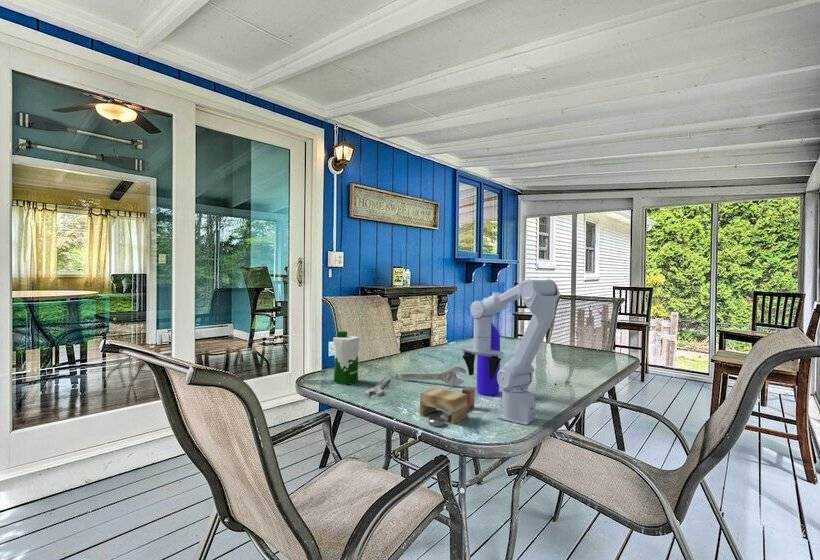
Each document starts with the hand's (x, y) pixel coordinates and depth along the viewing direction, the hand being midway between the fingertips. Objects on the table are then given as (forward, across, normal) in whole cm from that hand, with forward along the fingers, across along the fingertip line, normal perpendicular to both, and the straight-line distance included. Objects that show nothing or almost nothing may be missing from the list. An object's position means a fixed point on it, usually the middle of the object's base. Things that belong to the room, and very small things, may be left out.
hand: (481, 376), depth 142 cm
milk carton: (+10, +56, +7) cm, 57 cm away
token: (+10, +2, +25) cm, 27 cm away
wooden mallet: (+9, +2, +12) cm, 16 cm away
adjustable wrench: (+10, +39, +5) cm, 41 cm away
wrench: (+10, +28, -12) cm, 32 cm away
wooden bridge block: (+9, +4, +18) cm, 21 cm away
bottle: (+10, +4, -14) cm, 17 cm away
